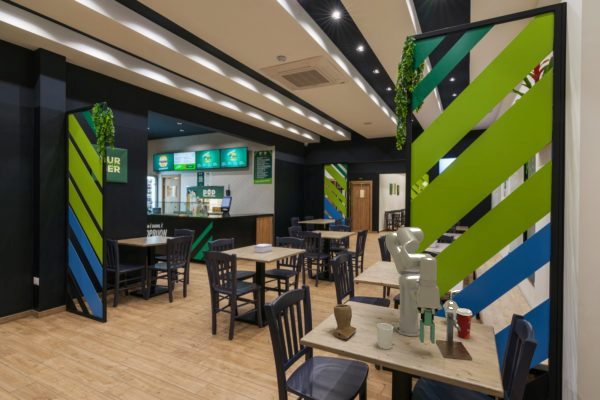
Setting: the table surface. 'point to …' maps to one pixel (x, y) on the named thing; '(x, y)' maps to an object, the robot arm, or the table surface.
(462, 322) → the paper cup
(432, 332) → the green link
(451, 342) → the hook stand
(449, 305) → the soap dispenser
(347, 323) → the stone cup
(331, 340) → the table surface
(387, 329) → the white cup
